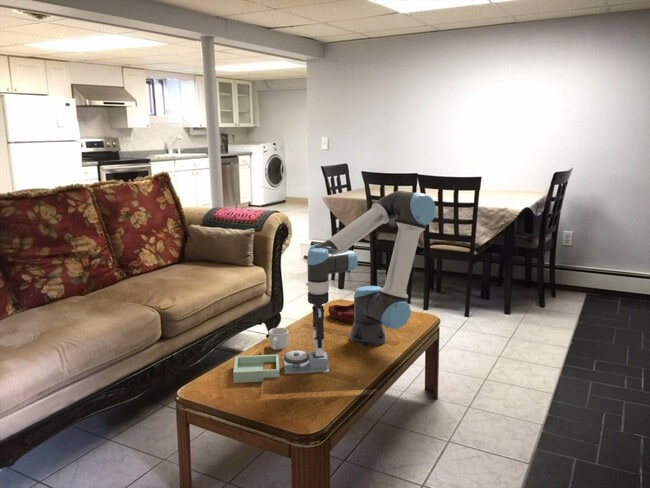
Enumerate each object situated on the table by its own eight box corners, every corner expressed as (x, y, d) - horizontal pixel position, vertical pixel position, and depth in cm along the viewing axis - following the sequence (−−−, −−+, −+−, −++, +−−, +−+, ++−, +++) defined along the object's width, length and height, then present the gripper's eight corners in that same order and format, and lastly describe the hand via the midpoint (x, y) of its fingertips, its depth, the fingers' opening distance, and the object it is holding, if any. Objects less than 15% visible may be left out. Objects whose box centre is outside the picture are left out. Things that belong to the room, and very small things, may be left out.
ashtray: (334, 326, 245) (334, 315, 244) (326, 314, 261) (326, 304, 260) (371, 323, 249) (371, 313, 248) (362, 312, 264) (362, 302, 263)
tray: (278, 364, 204) (278, 354, 203) (279, 380, 190) (279, 370, 190) (235, 366, 202) (235, 356, 202) (233, 382, 189) (233, 372, 188)
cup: (283, 357, 211) (283, 337, 209) (264, 355, 212) (263, 336, 211) (291, 346, 221) (290, 328, 219) (272, 345, 223) (272, 326, 221)
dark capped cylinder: (321, 363, 201) (321, 326, 198) (322, 367, 198) (322, 329, 195) (313, 364, 201) (313, 326, 198) (314, 367, 198) (314, 329, 195)
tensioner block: (326, 362, 205) (326, 346, 204) (329, 375, 195) (329, 358, 193) (283, 364, 204) (283, 348, 202) (284, 377, 193) (284, 359, 192)
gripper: (305, 283, 204) (305, 339, 209) (310, 301, 182) (310, 363, 187) (325, 282, 205) (325, 338, 209) (332, 300, 183) (331, 362, 188)
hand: (318, 349), depth 198 cm, fingers open, 10 cm apart
